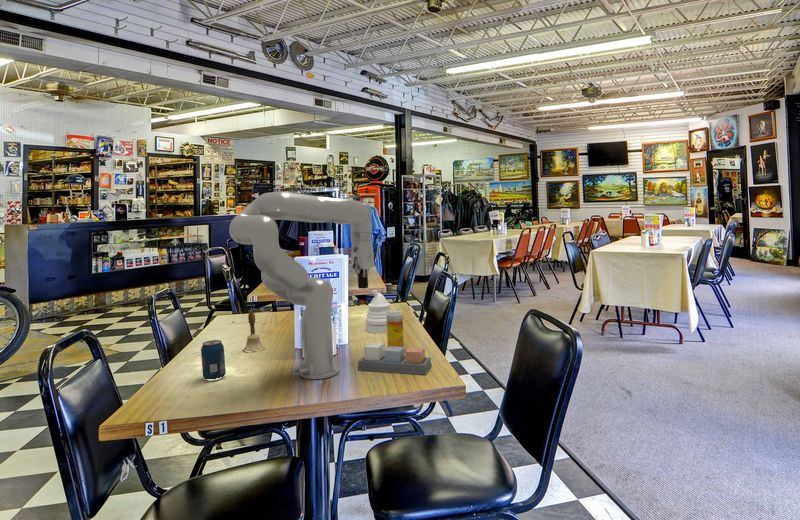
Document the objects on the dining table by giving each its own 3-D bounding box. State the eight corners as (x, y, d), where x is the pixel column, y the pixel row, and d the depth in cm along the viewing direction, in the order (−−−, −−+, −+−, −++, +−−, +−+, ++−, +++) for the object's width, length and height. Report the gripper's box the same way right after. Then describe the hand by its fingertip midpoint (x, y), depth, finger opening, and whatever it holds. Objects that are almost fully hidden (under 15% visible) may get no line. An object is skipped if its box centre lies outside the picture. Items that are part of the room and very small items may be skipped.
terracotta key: (425, 361, 155) (424, 348, 154) (421, 366, 150) (420, 352, 150) (410, 360, 156) (409, 347, 156) (405, 365, 152) (405, 351, 151)
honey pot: (373, 335, 200) (371, 293, 198) (361, 329, 211) (359, 290, 210) (399, 330, 206) (398, 290, 204) (386, 325, 217) (385, 287, 216)
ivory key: (384, 356, 159) (383, 343, 159) (379, 360, 154) (378, 347, 154) (369, 355, 161) (369, 342, 160) (364, 359, 156) (363, 346, 155)
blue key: (404, 360, 157) (403, 347, 157) (399, 364, 152) (399, 351, 152) (389, 359, 159) (389, 346, 158) (384, 363, 154) (384, 350, 153)
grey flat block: (431, 365, 156) (431, 357, 156) (425, 375, 148) (424, 365, 147) (367, 361, 163) (367, 353, 163) (357, 370, 155) (357, 361, 154)
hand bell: (265, 350, 182) (263, 310, 180) (243, 353, 179) (240, 313, 177) (263, 345, 189) (261, 307, 188) (242, 348, 186) (239, 309, 185)
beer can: (402, 353, 172) (400, 313, 171) (386, 352, 174) (384, 313, 172) (405, 348, 178) (403, 309, 177) (389, 347, 180) (388, 309, 178)
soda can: (203, 376, 154) (200, 341, 153) (225, 373, 156) (223, 338, 155) (202, 383, 147) (199, 346, 146) (226, 380, 150) (223, 343, 149)
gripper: (361, 238, 158) (363, 291, 160) (379, 236, 172) (380, 285, 174) (342, 238, 161) (344, 291, 163) (360, 236, 175) (362, 284, 177)
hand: (363, 287), depth 168 cm, fingers closed
